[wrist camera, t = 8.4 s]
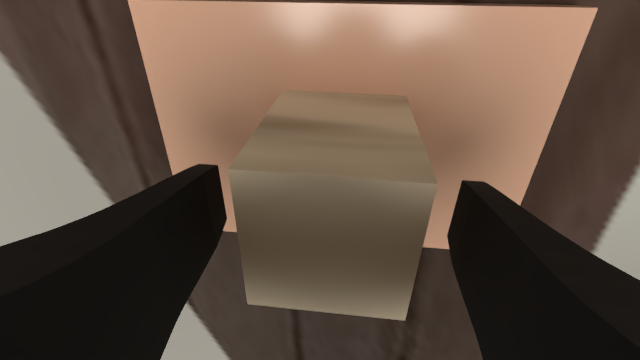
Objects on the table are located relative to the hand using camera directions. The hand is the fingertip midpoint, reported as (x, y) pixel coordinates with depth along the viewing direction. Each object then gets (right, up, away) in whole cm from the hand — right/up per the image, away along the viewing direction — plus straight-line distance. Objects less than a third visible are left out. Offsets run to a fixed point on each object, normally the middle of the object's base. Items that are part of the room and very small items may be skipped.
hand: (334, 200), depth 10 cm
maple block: (0, +2, +3) cm, 4 cm away
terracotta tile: (+1, +3, +4) cm, 5 cm away
